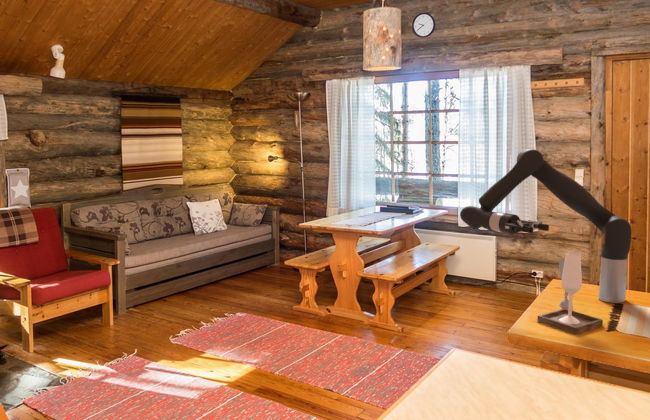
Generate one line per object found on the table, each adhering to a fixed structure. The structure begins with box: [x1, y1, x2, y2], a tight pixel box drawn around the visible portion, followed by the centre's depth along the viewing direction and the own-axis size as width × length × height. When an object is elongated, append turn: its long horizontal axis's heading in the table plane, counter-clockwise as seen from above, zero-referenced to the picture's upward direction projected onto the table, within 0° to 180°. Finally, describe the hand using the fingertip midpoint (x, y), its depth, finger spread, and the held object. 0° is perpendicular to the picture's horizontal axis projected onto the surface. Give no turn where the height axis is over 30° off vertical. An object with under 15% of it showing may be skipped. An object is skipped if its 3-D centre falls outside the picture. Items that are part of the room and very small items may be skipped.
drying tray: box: [537, 308, 604, 335], centre depth 200 cm, size 15×15×2 cm
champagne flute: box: [559, 251, 583, 324], centre depth 198 cm, size 7×7×24 cm
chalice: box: [557, 257, 569, 309], centre depth 218 cm, size 7×7×18 cm
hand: (540, 229), depth 204 cm, fingers open, 8 cm apart
